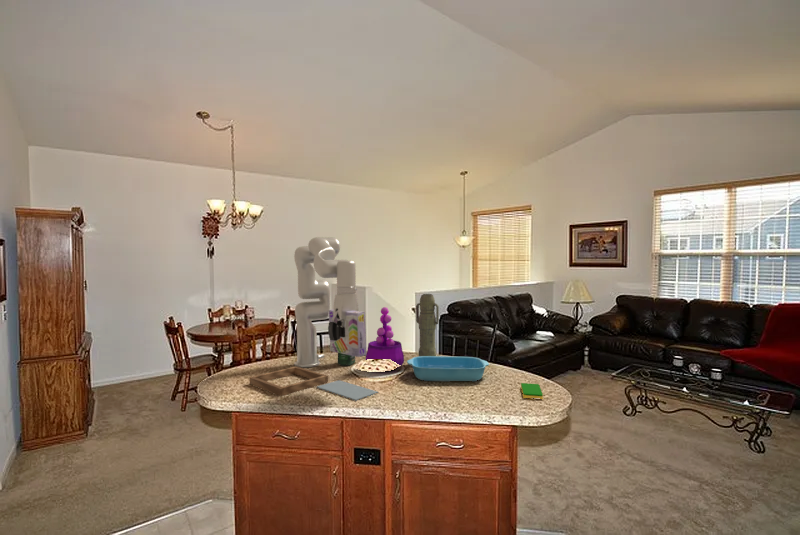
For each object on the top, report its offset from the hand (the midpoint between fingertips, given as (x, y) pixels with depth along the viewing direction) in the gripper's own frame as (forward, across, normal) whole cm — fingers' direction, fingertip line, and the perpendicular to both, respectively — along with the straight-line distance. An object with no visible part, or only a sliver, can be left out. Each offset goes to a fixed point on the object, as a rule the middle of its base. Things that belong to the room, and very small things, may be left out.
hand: (346, 335), depth 172 cm
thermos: (+23, -57, -3) cm, 61 cm away
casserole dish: (+23, -44, +19) cm, 53 cm away
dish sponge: (+23, -46, +58) cm, 78 cm away
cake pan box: (+8, 0, 0) cm, 8 cm away
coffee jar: (+23, -28, -32) cm, 48 cm away
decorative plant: (+23, -34, -11) cm, 42 cm away
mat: (+23, 0, 0) cm, 23 cm away
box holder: (+23, +10, -26) cm, 36 cm away
